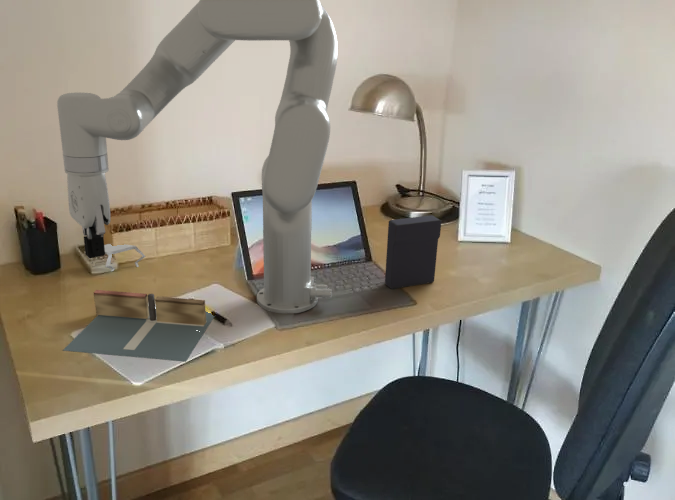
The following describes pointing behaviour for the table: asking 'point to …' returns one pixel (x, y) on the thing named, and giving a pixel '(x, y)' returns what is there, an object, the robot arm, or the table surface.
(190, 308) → the fence fixed
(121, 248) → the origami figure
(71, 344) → the card
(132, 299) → the fence gate
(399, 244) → the dark navy box
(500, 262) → the table surface
